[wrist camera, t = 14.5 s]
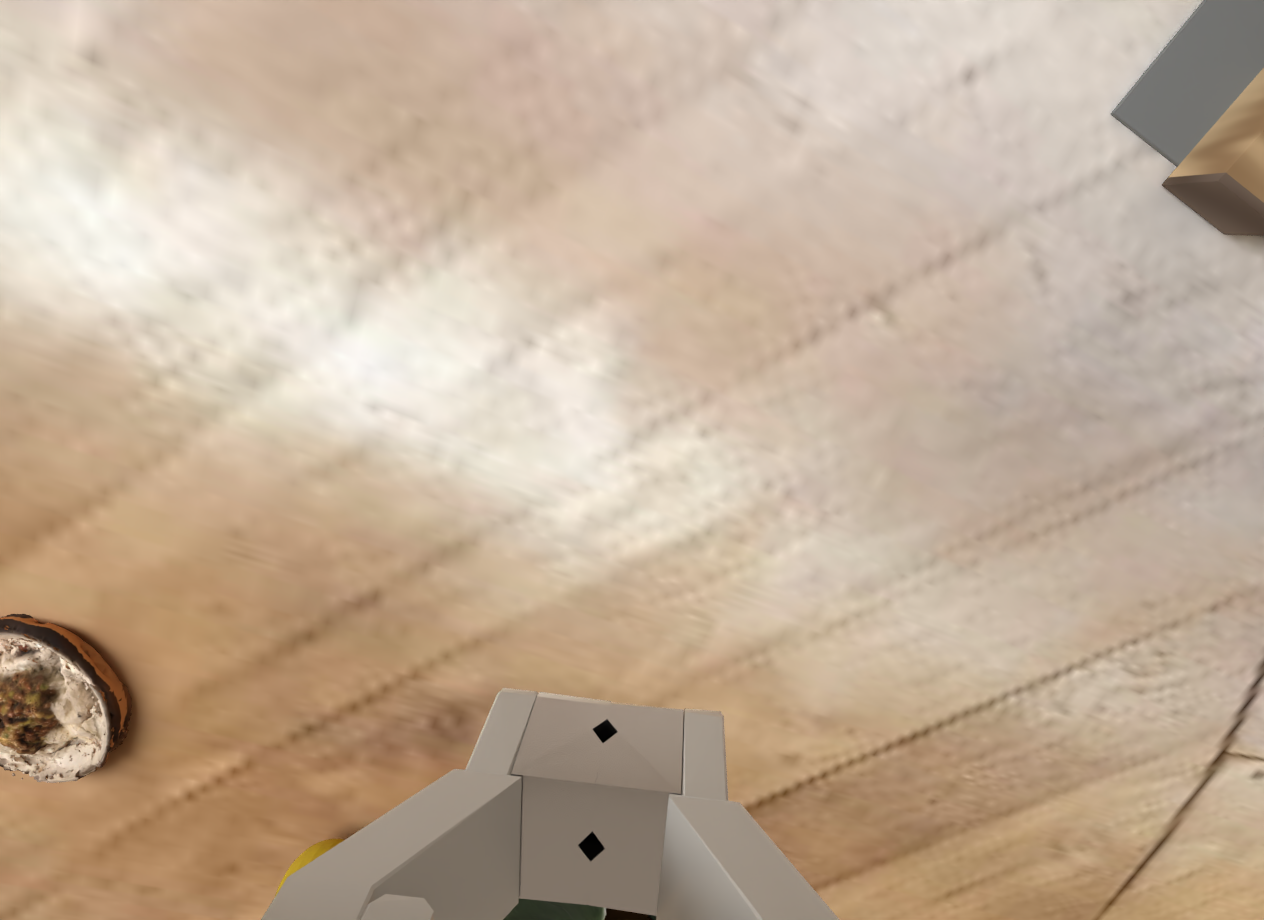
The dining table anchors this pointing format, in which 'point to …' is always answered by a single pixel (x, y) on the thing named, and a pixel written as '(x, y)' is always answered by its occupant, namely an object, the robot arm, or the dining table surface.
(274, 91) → the dining table surface
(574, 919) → the rose bouquet
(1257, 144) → the oak block
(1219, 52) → the felt mat
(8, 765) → the cream pie
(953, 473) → the dining table surface
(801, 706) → the dining table surface
